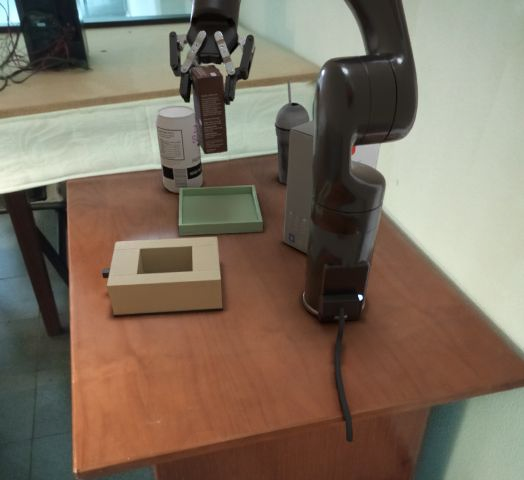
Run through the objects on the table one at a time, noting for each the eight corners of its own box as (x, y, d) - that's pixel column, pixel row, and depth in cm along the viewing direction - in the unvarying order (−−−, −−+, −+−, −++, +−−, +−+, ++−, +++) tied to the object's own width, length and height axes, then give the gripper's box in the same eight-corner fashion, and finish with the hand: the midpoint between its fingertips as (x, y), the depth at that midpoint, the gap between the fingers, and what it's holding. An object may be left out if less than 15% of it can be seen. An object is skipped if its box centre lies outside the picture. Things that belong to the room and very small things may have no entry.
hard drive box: (314, 259, 85) (326, 141, 71) (281, 243, 88) (286, 127, 75) (367, 227, 93) (386, 115, 79) (335, 213, 97) (348, 104, 83)
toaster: (223, 309, 74) (221, 279, 70) (103, 317, 73) (94, 286, 69) (219, 265, 83) (217, 236, 79) (112, 270, 82) (105, 241, 78)
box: (195, 142, 87) (189, 65, 79) (220, 139, 88) (216, 64, 80) (202, 155, 83) (196, 76, 75) (228, 152, 84) (225, 74, 76)
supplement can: (159, 182, 106) (149, 107, 96) (195, 175, 109) (189, 102, 99) (170, 197, 101) (160, 120, 91) (208, 190, 104) (203, 115, 93)
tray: (262, 231, 91) (262, 221, 90) (179, 235, 90) (178, 225, 89) (254, 194, 102) (254, 185, 101) (180, 197, 101) (179, 188, 100)
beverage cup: (303, 188, 105) (311, 85, 91) (270, 185, 106) (272, 82, 92) (308, 174, 110) (316, 74, 96) (276, 171, 111) (279, 72, 97)
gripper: (166, -21, 76) (155, 86, 76) (259, -19, 75) (248, 90, 74) (179, 13, 84) (169, 111, 83) (263, 16, 82) (253, 115, 82)
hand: (206, 101), depth 79 cm, fingers closed on box, 6 cm apart
